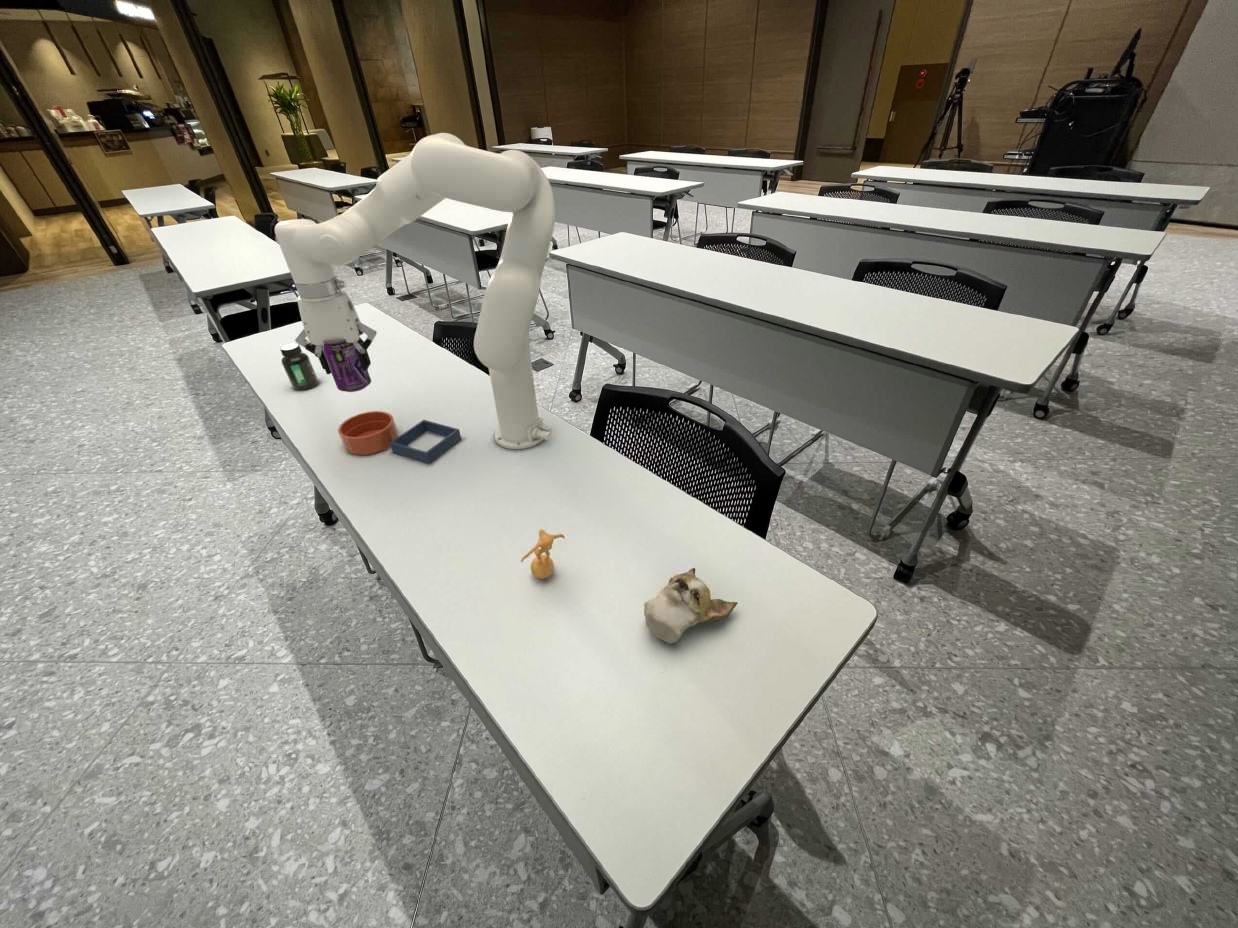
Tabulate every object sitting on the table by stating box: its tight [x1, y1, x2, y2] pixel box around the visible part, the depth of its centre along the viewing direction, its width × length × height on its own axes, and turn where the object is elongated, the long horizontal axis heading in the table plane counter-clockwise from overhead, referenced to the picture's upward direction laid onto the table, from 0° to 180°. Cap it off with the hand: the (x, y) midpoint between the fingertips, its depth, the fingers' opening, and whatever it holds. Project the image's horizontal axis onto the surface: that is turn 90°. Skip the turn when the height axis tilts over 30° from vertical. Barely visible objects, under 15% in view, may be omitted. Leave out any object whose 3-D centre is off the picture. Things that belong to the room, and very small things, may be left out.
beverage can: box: [322, 339, 372, 393], centre depth 110 cm, size 7×7×12 cm
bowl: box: [337, 410, 400, 456], centre depth 121 cm, size 12×12×5 cm
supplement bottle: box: [279, 343, 319, 391], centre depth 144 cm, size 7×7×12 cm
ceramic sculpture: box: [643, 567, 739, 644], centre depth 77 cm, size 11×9×15 cm
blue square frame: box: [390, 419, 462, 465], centre depth 119 cm, size 11×11×3 cm
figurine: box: [520, 528, 565, 580], centre depth 83 cm, size 8×6×12 cm
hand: (348, 369), depth 111 cm, fingers closed on beverage can, 6 cm apart
